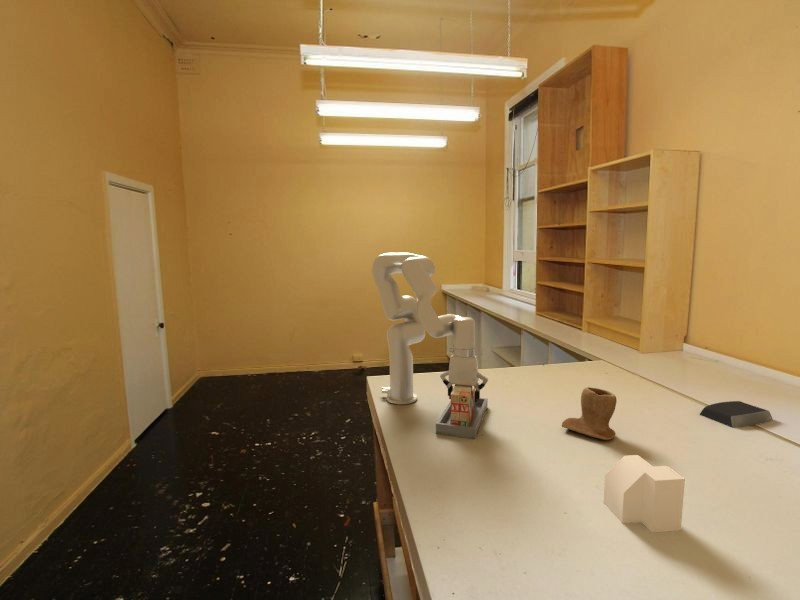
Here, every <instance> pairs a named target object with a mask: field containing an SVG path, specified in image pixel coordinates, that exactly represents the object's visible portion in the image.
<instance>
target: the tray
mask: <svg viewBox="0 0 800 600" xmlns="http://www.w3.org/2000/svg"><path fill="white" fill-rule="evenodd" d="M487 410H488V398H483V397H480V399H478V401H477V402H475V408H474V412H473V415H472V420H471V424H470V426H469V427H467V426H460V425H452V424H450V420H451V400H450V401H449V403H448V404H447V406H446V407H445V409H444V410H443V412H442V414H441V415H440V417H439V418H438V420H437V421H436V423H435V434H437V435H443V436H451V437H456V438H457V437H458V438H463V439H471V440H475V439H476V437H477V434H478V433H479V430H480V428H481V425H482V421H483V419H484V417H485V415H486V412H487Z"/></svg>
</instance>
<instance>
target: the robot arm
mask: <svg viewBox="0 0 800 600" xmlns="http://www.w3.org/2000/svg"><path fill="white" fill-rule="evenodd" d="M433 261H434V260H432V259H431V258H430V257H428V256H425V255H420V254H415V253H410V252H386V253H382V254H379V255H377V256H376V257H375V258H374V259H373V262H372V265H371V274H372V279H373V281H374V283H375V287H376V288H377V290H378V291H377V292H378V295H379V298H380V302H381V307H382V311H383V314H384V317H385V318H386V320H388V321H398V320H399V321H401V320H404V321H403V322H399V323H395V324H392V325H391V326H390V327H389V328H388V329H387V331H386V341H387V347H388V355H389V356H388V357H389V386H388V387H386V386H381V388H380V391H381V393H382V394H386V397H385V398H386V401H387V402H388V403H391V404H394V405H409V404H413V403H414V402H416V401H417V400H418V395H417V393H415V392H414V363H413V362H414V357H413V352H412V351H411V349H410V346H411V345H415V344H417V343H420V342H422V341H424V340H425V337H426V332H427V334H428V335H429V336H430V337H432V338H434V339H439V338H445V337H447V336H453V338H452V339H453V340H452V341H453V343H452V345H453V346H452V347H449V349H448V351H449V353H450V352H451V353H452V355H450V359H449V365H448V370H447V371H445V372H443V373H441V374H440V375H439V376H440V378H441V381H442V382H443V384H444V385H445V386H446V388H447V396H448V400H451V392H452V390H453V388H454V386H453V385H455V384H457V385H467V386H474V388H475V402H477V401H478V399H480V398H481V393H480V392H481V390H482V389H483V388H484V387H485V386H486V384H487V383H488V382H489V378H488V377H486V376H485V375H483V374H482V373H480V372H479V364H478V363H479V362H478V358H477V355H476V353H475V351H476V349H475V348H476V322H475V321H476V320H475V319H474V318H472V317H471V316H460V315H458V314H453V313H447V314H442V315H437V313H436V311H435V309H434V308H433V305H432V297H433V296H435V294H436V293H437V292H438V286H437V285H436V283H435V282H434V279H433V278H432V276H434V274H435V271H436V265H435V264H434V262H433ZM397 274H403V277H404V278H405V280H406V281H407V283H408V285H409V287H410V288H411V290H412V291H413V293H414V295H415V297H416V299H415V297H414V296H412V295H402V294H401V291H400V287H399V285H398V283H397V281H396V279H395V278H394V277H393V276H392V275H397ZM447 376H448V379H447V378H446V377H447ZM479 380H481V381H482V382H481V383H480V384H479V382H478V381H479Z"/></svg>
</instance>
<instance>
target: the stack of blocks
mask: <svg viewBox="0 0 800 600" xmlns="http://www.w3.org/2000/svg"><path fill="white" fill-rule="evenodd" d="M475 390H476V389H475V388H474V386H467V385H457V384H454V386H453V390H452V392H451V399H450V401H451V420H450V424H452V425H460V426H467V427H469V426H470V424H471V420H472V415H473V412H474V408H475Z"/></svg>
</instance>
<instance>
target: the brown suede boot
mask: <svg viewBox="0 0 800 600" xmlns="http://www.w3.org/2000/svg"><path fill="white" fill-rule="evenodd" d="M580 394H581V395H580V407H581V416H580V417H578V418H577V417H568V418H566V419H564V420H563V421H562V423H561V427H562V428H563V429H564V428H565V429H567V430H569V431H570V430H571V431H572V432H576V433H579V434H582V435H586V436H587V437H588V436H589V437H592V438H596V439H599V440H605V441H608V440H609V441H610V440H612V439H614V438H615V437H616V431H615V430H614V429H612V428H611V427H610V424H609V423H610V421H611V419H612V417H613V416H614V413H615V409H616V407H617V406H616V405H617V396H616V395H615V394H614V393H613V392H611V391H608V390H605V389H601V388H599V387H598V388H597V387H590V386H589V387H588V386H586V387H584V388H583V389H582V392H581V393H580Z"/></svg>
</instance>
